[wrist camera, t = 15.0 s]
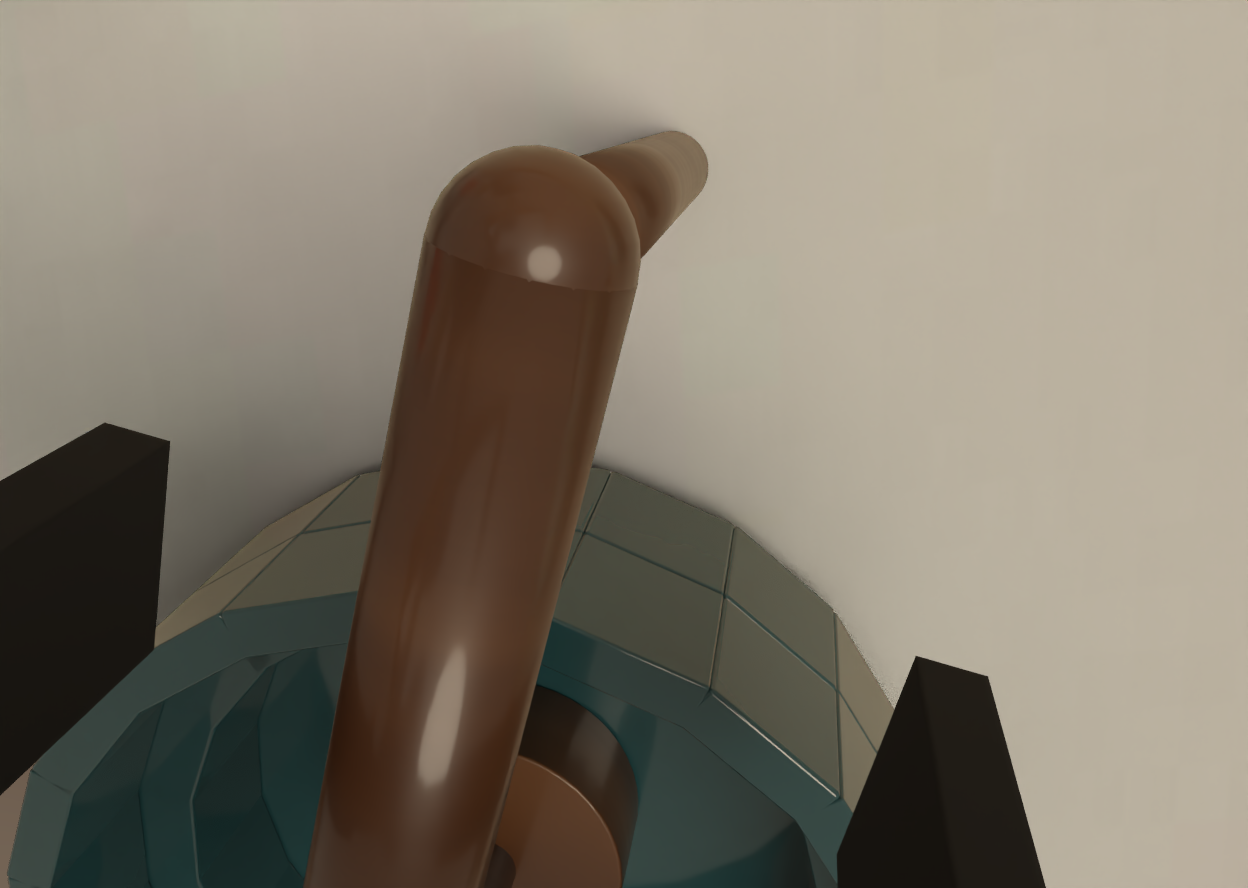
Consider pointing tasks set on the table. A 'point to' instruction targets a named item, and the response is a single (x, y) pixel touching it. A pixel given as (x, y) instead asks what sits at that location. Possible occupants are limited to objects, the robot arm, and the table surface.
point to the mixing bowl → (571, 665)
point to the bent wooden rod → (493, 536)
